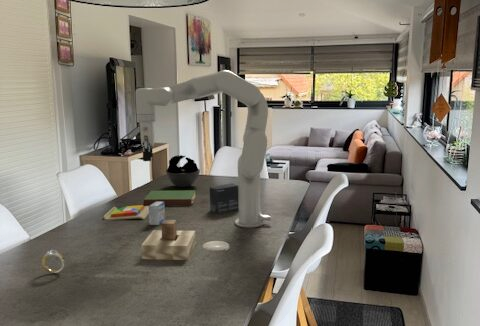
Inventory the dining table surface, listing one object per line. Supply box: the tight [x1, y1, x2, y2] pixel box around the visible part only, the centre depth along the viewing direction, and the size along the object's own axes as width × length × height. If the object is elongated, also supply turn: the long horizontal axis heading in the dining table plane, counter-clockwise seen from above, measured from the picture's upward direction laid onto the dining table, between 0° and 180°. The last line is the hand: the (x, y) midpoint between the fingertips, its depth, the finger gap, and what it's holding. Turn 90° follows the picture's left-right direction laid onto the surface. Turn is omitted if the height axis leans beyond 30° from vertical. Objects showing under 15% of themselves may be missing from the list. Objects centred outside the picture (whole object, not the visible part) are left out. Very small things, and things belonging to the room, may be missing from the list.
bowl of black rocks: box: [165, 154, 201, 188], centre depth 264 cm, size 20×20×19 cm
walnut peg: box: [160, 219, 178, 241], centre depth 161 cm, size 4×4×11 cm
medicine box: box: [148, 202, 166, 226], centre depth 197 cm, size 8×4×9 cm, turn 168°
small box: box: [209, 182, 239, 214], centre depth 216 cm, size 13×7×12 cm, turn 123°
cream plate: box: [202, 240, 230, 252], centre depth 166 cm, size 10×10×1 cm
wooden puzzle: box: [103, 204, 149, 221], centre depth 211 cm, size 18×19×4 cm
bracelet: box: [41, 249, 66, 274], centre depth 145 cm, size 7×3×8 cm, turn 86°
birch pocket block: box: [140, 229, 197, 261], centre depth 161 cm, size 16×16×6 cm
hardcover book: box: [143, 189, 197, 207], centre depth 234 cm, size 25×19×4 cm
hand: (148, 159), depth 187 cm, fingers open, 9 cm apart
